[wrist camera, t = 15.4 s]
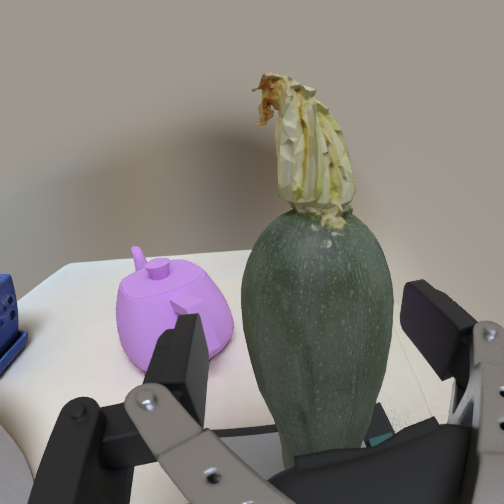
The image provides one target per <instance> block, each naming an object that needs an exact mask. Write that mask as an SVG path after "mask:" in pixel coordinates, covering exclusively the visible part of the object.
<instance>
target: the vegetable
mask: <svg viewBox="0 0 504 504" xmlns="http://www.w3.org/2000/svg"><path fill="white" fill-rule="evenodd" d="M256 89H262V103H261V105H259V106H258V110H259V114H260V121H259V122H258V123H257V126H262V125H266V124H267V121H268V120H269V119H270V118H272V117H273V113H274V110H271V105H273V107H274V109H276V110H278V111H279V117H278V118H277V125H276V132H275V143H276V150H277V158H278V184H279V196H281V197H282V198H283V199H284V200H285V201H287V202H288V203H289V204H290V206H291V207H292V208H293V210H291V211H289V212H286V213H284V214H282V215H280V216H279V217H278V218H277V219H275V220H274V221H273V222H272V223H271V224H270V225H268V226H267V228H266V229H265V230H264V231H263V232H262V234H261V235H260V237H259V238H258V240H257V242H256V243H255V245H254V248H253V249H252V252H251V254H250V256H249V258H248V260H247V264H246V267H245V271H244V274H243V279H242V287H241V309H242V320H243V330H244V334H245V339H246V343H247V348H248V352H249V356H250V360H251V364H252V367H253V371H254V374H255V377H256V381H257V384H258V388H259V390H260V392H261V394H262V396H263V398H264V400H265V402H266V404H267V406H268V409H269V411H270V412H271V414H272V416H273V418H274V421H275V424H276V427H277V430H278V433H279V437H280V442H281V446H282V460H283V464H284V468H285V469H287V468H290V467H292V466H294V459H293V456H298V455H304V454H309V453H315V452H320V451H325V450H329V449H344V448H361V445H362V442H363V440H364V437H365V435H366V432H367V430H368V427H369V425H370V423H371V419H372V414H373V410H374V407H375V403H376V400H377V397H378V394H379V391H380V389H381V386H382V382H383V379H384V375H385V372H386V366H387V360H388V354H389V348H390V343H391V337H392V325H393V305H394V299H393V288H392V281H391V277H390V271H389V268H388V265H387V262H386V259H385V256H384V253H383V251H382V248H381V246H380V244H379V242H378V241H377V239H376V237H375V235H374V234H373V233H372V232H371V230H370V229H369V228H368V227H367V226H366V225H365V224H364V223H363V222H362V221H361V220H359V219H358V218H357V217H356V216H355V215H353V214H352V211H353V208H352V207H351V206H350V205H349V203H350V202H351V201H352V199H353V197H354V195H355V191H356V186H355V182H354V178H353V175H352V171H351V162H350V156H349V152H348V148H347V142H346V139H345V136H344V134H343V132H342V130H341V128H340V126H339V125H338V123H337V121H336V119H335V118H334V117H332V116H331V115H330V114H329V113H328V110H329V108H327V107H325V106H324V105H323V104H322V103H321V102H319V101H317V100H316V99H314V98H313V96H314V95H315V93H316V90H315V89H312V88H310V87H308V86H303V85H301V84H300V83H298V82H296V81H294V80H292V79H291V78H290V77H287V76H281V75H280V74H274V73H265V74H263V75H262V78H261V82H260V84H259V87H258V88H256ZM256 89H253V90H252V91H253V92H254V91H255V90H256Z"/></svg>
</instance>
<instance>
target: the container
mask: <svg viewBox="0 0 504 504" xmlns="http://www.w3.org/2000/svg"><path fill="white" fill-rule="evenodd" d="M33 483H34V481H33V478H32V474H31V471H30V468H29V466H28V463H27V461H26V459H25V457H24V455H23V453H22V451H21V450H20V448H19V446H18V445H17V444H16V442H15V441H14V440H13V439H12V437H11V436H10V435H9V434H8V433H7V432H6V431H5V429H4V428H3V427H2V426H1V425H0V504H27V503H28V499H29V496H30V492H31V489H32V486H33Z"/></svg>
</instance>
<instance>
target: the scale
mask: <svg viewBox="0 0 504 504" xmlns="http://www.w3.org/2000/svg"><path fill="white" fill-rule="evenodd" d="M212 431H213V432H214V433H215V434H216V435H217V436H218V437H219V438H220V439H221V440H222V441H223V442H224V443H225V444H226V445H227V446H228V447H229V448H230V449H232V450H233V451H234V452H235V453H236V454H237V455H238V456H239V457H240V458H241V459H242V460H243V461H245V462H246V463H247V464H248V465H249V466H250V467H251V468H253V469H254V470H255V471H256V472H257V473H258V474H260V475H261V476H262V477H263V478H264V479H265V480H268V479H269V478H270V477H272V476H274V475H275V474H277V473H279V472H281V471H283V470H285V468H284V464H283V460H282V446H281V442H280V437H279V433H278V430H277V427H276V424H274V425H266V426H257V427H247V428H235V429H220V430H212ZM394 434H395V432H394V430H393V428H392V426H391V424H390V422H389V420H388V418H387V416H386V414H385V412H384V410H383V407H382V405H381V403H380V402H379V403H376V404H375V407H374V410H373V414H372V419H371V423H370V425H369V427H368V430H367V432H366V435H365V437H364V440H363V442H362V445H361V448H364V447H373V446H375V445H377V444H379V443H381V442H383V441H384V440H386V439H388V438H389V437H391V436H393V435H394Z"/></svg>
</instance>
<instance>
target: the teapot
mask: <svg viewBox="0 0 504 504" xmlns="http://www.w3.org/2000/svg"><path fill="white" fill-rule="evenodd" d="M131 251H132V255H133V258H134V262H135V269H136V272H134V273H132V274H130V275H128V276H127V277H125V278H124V279H122V281H121V282H120V285H119V289H118V295H117V303H116V321H117V328H118V333H119V337H120V341H121V344H122V347H123V349H124V351H125V353H126V354H127V356H128V357H129V358H130V359H131V361H132V362H133V363H134V364H135V365H136V366H138V367H139V368H140V369H142V370H144V371H146V372H147V369H148V366H149V363H150V360H151V357H152V354H153V351H154V349H155V345H156V343H157V340H158V337H159V336H160V335H161V334H162V333H163V332H164V331H165V330H166V329H174V328H175V324H176V321H177V318H178V315H183V314H193V313H199V315H200V317H201V321H202V325H203V330H204V334H205V338H206V342H207V346H208V351H209V359H211V358H212V357H214V356H215V355H216V354H218V353H219V352H220V351H221V350H222V349H223V348H224V347H225V345H226V344H227V343H228V341H229V339H230V338H231V336H232V333H233V330H234V322H233V317H232V314H231V311H230V309H229V306H228V304H227V302H226V300H225V298H224V296H223V294H222V293H221V291H220V290H219V288H218V287H217V286H216V284H215V283H214V282H213V280H212V279H211V278H210V277H209V275H208V274H207V273H206V272H205V271H204V270H203V269H202V268H201V267H199V266H198V265H196V264H194V263H192V262H190V261H187V260H171V261H170V260H169V259H167V258H157V259H153V260H151V261H149V262H147V261H146V259H145V257H144V254H143V252H142V250H141V249H140V248H139V247H137V246H134V247H132V249H131Z"/></svg>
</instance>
